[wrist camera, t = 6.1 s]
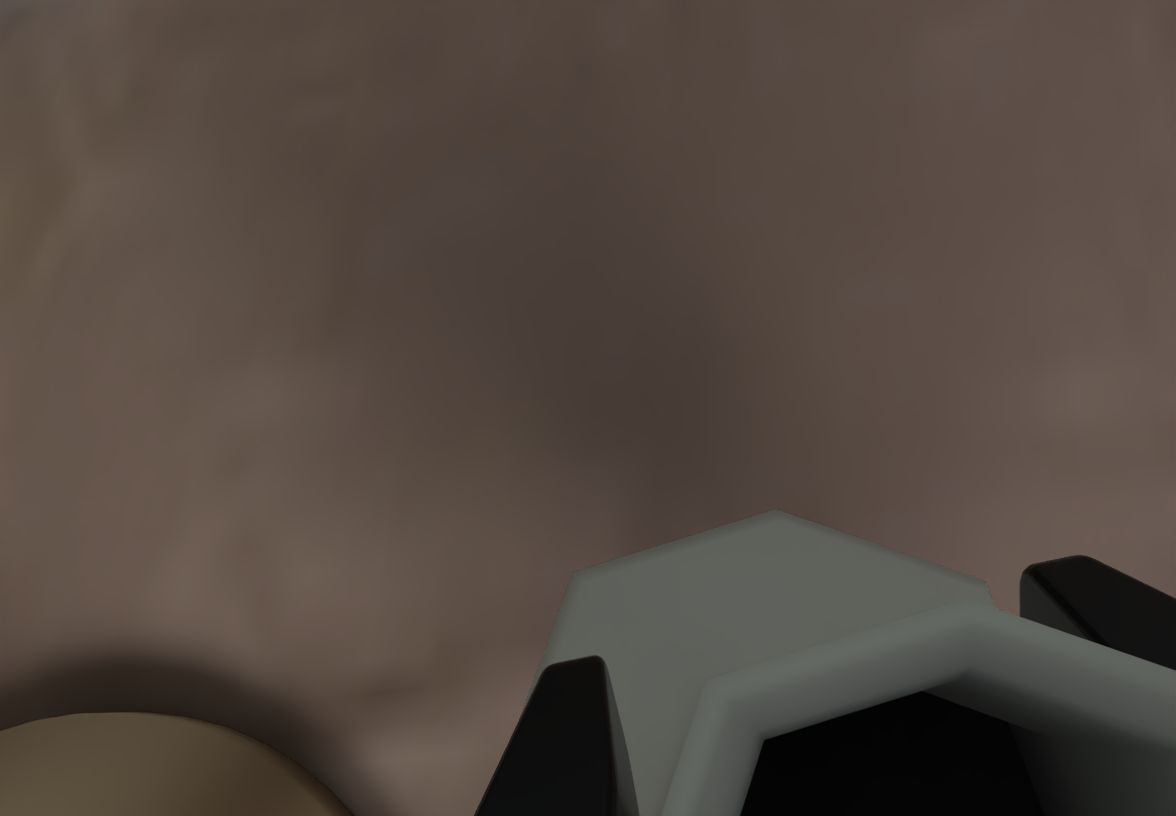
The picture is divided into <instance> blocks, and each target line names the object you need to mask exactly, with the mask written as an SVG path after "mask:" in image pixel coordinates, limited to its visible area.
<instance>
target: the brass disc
mask: <svg viewBox="0 0 1176 816" xmlns="http://www.w3.org/2000/svg"><path fill="white" fill-rule="evenodd" d="M0 816H353V815H352V814H351V813H350V812H349V811H348V809H347V808H346V807H345V806H344V805H343V804H342V803H341V802H340V801H339V800H338V798H337V797H336V796H335V795H334V794H333V793H332V792H331V791H330V790H329V789H328V788H327V787H325V786H324V785H323V784H322V783H321V782H319V781H318V780H317V779H316V778H315V777H313V776H312V775H311V774H310V773H309V772H307V771H306V770H305V769H304V768H303V767H301V766H300V765H299V764H297V763H296V762H294V761H293V760H291V759H289V758H288V757H286V756H284V755H283V754H281V753H280V752H278V751H276V750H275V749H273V748H271V747H270V746H268V745H267V744H265V743H263V742H261V741H258V740H256V739H254V738H251V737H249V736H247V735H244V734H242V733H240V732H237V731H235V730H233V729H230V728H228V727H225V726H221V725H217V724H213V723H210V722H206V721H202V720H198V719H195V718H191V717H185V716H176V715H168V714H159V713H151V712H115V713H77V714H71V715H65V716H59V717H53V718H46V719H40V720H35V721H31V722H28V723H25V724H22V725H18V726H15V727H12V728H8V729H5V730H2V731H0Z"/></svg>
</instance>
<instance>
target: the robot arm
mask: <svg viewBox="0 0 1176 816" xmlns="http://www.w3.org/2000/svg"><path fill="white" fill-rule="evenodd" d="M1020 617H1022V618H1025V619H1028V620H1031V621H1034V622H1036V623H1039V624H1042V625H1045V626H1048V627H1051V628H1054V629H1057V630H1060V631H1062V632H1065V633H1068V634H1071V635H1074V636H1077V637H1080V638H1083V639H1086V640H1088V641H1091V642H1094V643H1097V644H1100V645H1103V646H1106V647H1109V648H1112V649H1114V650H1117V651H1120V652H1123V653H1126V654H1129V655H1132V656H1135V657H1138V658H1140V659H1143V660H1146V661H1149V662H1152V663H1155V664H1158V665H1161V666H1164V667H1166V668H1169V669H1172V670H1175V671H1176V598H1174V597H1172V596H1169V595H1167V594H1165V593H1163V592H1161V591H1159V590H1157V589H1155V588H1153V587H1151V586H1149V585H1147V584H1145V583H1143V582H1141V581H1139V580H1137V579H1135V578H1133V577H1130V576H1128V575H1126V574H1124V573H1122V572H1120V571H1118V570H1116V569H1114V568H1112V567H1110V566H1108V565H1106V564H1104V563H1102V562H1100V561H1098V560H1096V559H1093V558H1090V557H1088V556H1083V555H1075V556H1069V557H1064V558H1060V559H1055V560H1050V561H1045V562H1040V563H1035V564H1032V565H1030V566H1028V567H1027V568H1026V569H1025V570H1024V571H1023V573H1022V576H1021V580H1020ZM474 816H640V815H639V809H638V803H637V798H636V792H635V786H634V781H633V775H632V770H631V764H630V759H629V754H628V750H627V745H626V741H625V737H624V732H623V728H622V724H621V720H620V716H619V712H618V708H617V704H616V700H615V696H614V692H613V688H612V684H611V680H610V675H609V672H608V668H607V665H606V662H605V661H604V660H603V659H602V657H600V656H597V655H592V656H587V657H582V658H578V659H573V660H568V661H563V662H558V663H554V664H551V665H549V666H547V667H546V668H545V669H544V670H543V672H542V673H541V675H540V677H539V679H538V682H537V684H536V686H535V688H534V690H533V692H532V694H531V696H530V698H529V701H528V703H527V705H526V707H525V709H524V711H523V713H522V715H521V717H520V719H519V722H518V724H517V726H516V728H515V730H514V732H513V734H512V736H511V738H510V741H509V743H508V745H507V747H506V749H505V751H504V753H503V755H502V757H501V760H500V762H499V764H498V766H497V768H496V770H495V772H494V774H493V776H492V779H491V781H490V783H489V785H488V787H487V789H486V791H485V793H484V795H483V798H482V800H481V802H480V804H479V806H478V808H477V810H476V812H475V814H474Z"/></svg>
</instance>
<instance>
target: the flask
mask: <svg viewBox="0 0 1176 816" xmlns="http://www.w3.org/2000/svg"><path fill="white" fill-rule="evenodd" d="M592 655H597V656H600V657H602V659H603V660H604V661H605V662H606V665H607V668H608V672H609V675H610V680H611V684H612V688H613V692H614V696H615V700H616V704H617V708H618V712H619V716H620V720H621V724H622V728H623V732H624V737H625V741H626V745H627V750H628V754H629V759H630V764H631V770H632V775H633V781H634V786H635V792H636V798H637V803H638V809H639V815H640V816H1176V671H1175V670H1172V669H1169V668H1166V667H1164V666H1161V665H1158V664H1155V663H1152V662H1149V661H1146V660H1143V659H1140V658H1138V657H1135V656H1132V655H1129V654H1126V653H1123V652H1120V651H1117V650H1114V649H1112V648H1109V647H1106V646H1103V645H1100V644H1097V643H1094V642H1091V641H1088V640H1086V639H1083V638H1080V637H1077V636H1074V635H1071V634H1068V633H1065V632H1062V631H1060V630H1057V629H1054V628H1051V627H1048V626H1045V625H1042V624H1039V623H1036V622H1034V621H1031V620H1028V619H1025V618H1022V617H1019V616H1016V615H1013V614H1010V613H1008V612H1005V611H1002V610H999V609H996V607H995V604H994V602H993V599H992V597H991V594H990V592H989V589H988V587H987V584H986V582H985V581H984V580H981V579H978V578H975V577H972V576H969V575H966V574H963V573H960V572H957V571H954V570H951V569H949V568H946V567H943V566H940V565H937V564H934V563H931V562H928V561H925V560H922V559H919V558H916V557H914V556H911V555H908V554H905V553H902V552H899V551H896V550H893V549H890V548H887V547H884V546H881V545H879V544H876V543H873V542H870V541H867V540H864V539H861V538H858V537H855V536H852V535H849V534H846V533H844V532H841V531H838V530H835V529H832V528H829V527H826V526H823V525H820V524H817V523H814V522H811V521H809V520H806V519H803V518H800V517H797V516H794V515H791V514H788V513H785V512H782V511H779V510H777V509H774V510H771V511H768V512H765V513H762V514H758V515H755V516H752V517H749V518H745V519H742V520H739V521H736V522H733V523H729V524H726V525H723V526H720V527H716V528H713V529H710V530H707V531H704V532H700V533H697V534H694V535H691V536H687V537H684V538H681V539H678V540H675V541H671V542H668V543H665V544H662V545H658V546H655V547H652V548H649V549H646V550H642V551H639V552H636V553H633V554H629V555H626V556H623V557H620V558H617V559H613V560H610V561H607V562H604V563H601V564H597V565H594V566H591V567H588V568H584V569H581V570H578V571H575V572H573V574H572V577H571V580H570V583H569V585H568V588H567V591H566V593H565V596H564V599H563V602H562V604H561V607H560V610H559V613H558V615H557V618H556V621H555V623H554V626H553V629H552V632H551V634H550V637H549V640H548V643H547V645H546V648H545V651H544V653H543V656H542V659H541V662H540V664H539V667H538V670H537V673H536V675H535V678H534V681H533V684H532V686H531V689H530V692H529V694H528V697H527V700H526V703H525V705H524V708H523V711H524V709H525V707H526V705H527V703H528V701H529V698H530V696H531V694H532V692H533V690H534V688H535V686H536V684H537V682H538V679H539V677H540V675H541V673H542V672H543V670H544V669H545V668H546V667H547V666H549V665H551V664H554V663H558V662H563V661H568V660H573V659H578V658H582V657H587V656H592ZM523 711H522V713H523ZM521 715H522V714H521ZM520 717H521V716H520Z"/></svg>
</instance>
